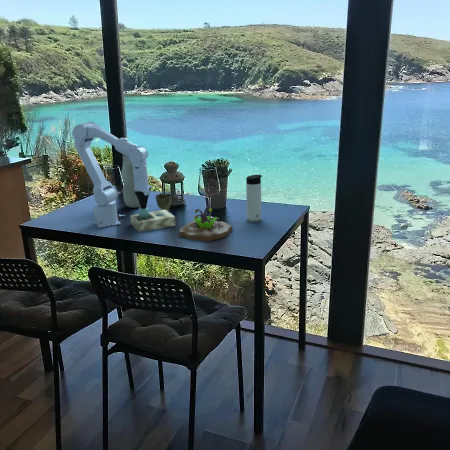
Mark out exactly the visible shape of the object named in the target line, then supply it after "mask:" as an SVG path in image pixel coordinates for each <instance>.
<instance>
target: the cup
mask: <svg viewBox="0 0 450 450" xmlns="http://www.w3.org/2000/svg"><path fill="white" fill-rule="evenodd" d="M154 197H155V200H156V205H157V207H158V208H159V209H160V210H167V211H168V212H169V210H170V209H169V208H170V207H171V205H172V197H173V196H172V194H171V193H170V192H166V193H165V194H164V193H159V194H158V193H157V194H156V195H154Z"/></svg>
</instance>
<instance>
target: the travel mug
mask: <svg viewBox="0 0 450 450" xmlns="http://www.w3.org/2000/svg"><path fill="white" fill-rule="evenodd" d="M262 177H263V175H262V174H251V175H248V176H247V177H246V178H245V179H246V180H245V181H246V182H245V184H246V186H245V189H246V191H245V192H246V193H245V194H246V221H247V222H249V223H259V222H261V221H262Z"/></svg>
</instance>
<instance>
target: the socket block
mask: <svg viewBox="0 0 450 450" xmlns="http://www.w3.org/2000/svg"><path fill="white" fill-rule="evenodd" d="M129 217H130V224H131V225H132V227H134V229H135V230H137V232H139V231H143V232H147V231H146V230H148V231H152V230H153V229H154V230H158V229H163V228H170V227H174V226H176V216H175V215H174V214H173V213H171V212H170V211H169V210H168V211H167V210H161V209H160V210H155V211H149V217H148V218H140V215H139V213H137V214H132V215H131V214H130V215H129Z"/></svg>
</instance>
